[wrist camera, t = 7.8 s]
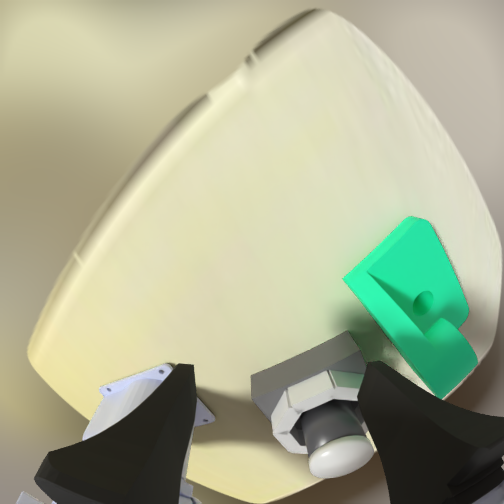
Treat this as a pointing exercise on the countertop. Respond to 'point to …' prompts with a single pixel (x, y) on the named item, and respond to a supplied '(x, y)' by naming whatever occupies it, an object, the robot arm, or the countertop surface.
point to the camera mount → (417, 303)
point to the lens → (334, 439)
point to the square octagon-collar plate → (309, 387)
